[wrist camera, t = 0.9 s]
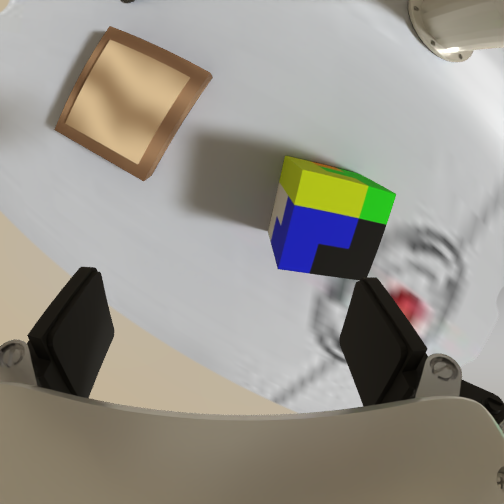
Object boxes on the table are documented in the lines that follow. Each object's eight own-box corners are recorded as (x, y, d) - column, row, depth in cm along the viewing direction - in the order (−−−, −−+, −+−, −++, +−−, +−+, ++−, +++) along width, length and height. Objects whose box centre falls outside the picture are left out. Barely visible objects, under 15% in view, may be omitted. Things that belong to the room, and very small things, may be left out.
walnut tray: (120, 32, 25) (108, 25, 22) (212, 77, 29) (209, 72, 26) (68, 127, 30) (52, 130, 26) (151, 175, 34) (142, 182, 30)
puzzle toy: (267, 231, 38) (277, 268, 29) (284, 155, 34) (302, 169, 25) (338, 243, 39) (365, 281, 30) (358, 173, 35) (396, 194, 26)
